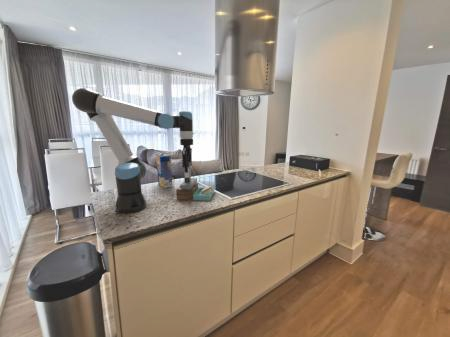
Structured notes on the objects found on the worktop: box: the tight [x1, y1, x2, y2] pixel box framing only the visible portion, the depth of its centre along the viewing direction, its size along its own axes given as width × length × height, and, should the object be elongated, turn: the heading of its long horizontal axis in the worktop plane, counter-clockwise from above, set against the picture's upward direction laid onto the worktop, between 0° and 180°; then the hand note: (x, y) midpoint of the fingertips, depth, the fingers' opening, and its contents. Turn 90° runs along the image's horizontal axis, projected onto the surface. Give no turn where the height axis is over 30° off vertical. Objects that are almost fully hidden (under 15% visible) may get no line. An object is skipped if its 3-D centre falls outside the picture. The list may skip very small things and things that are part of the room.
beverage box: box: [155, 153, 173, 189], centre depth 151 cm, size 7×11×22 cm, turn 34°
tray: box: [193, 187, 215, 201], centre depth 130 cm, size 15×10×3 cm, turn 174°
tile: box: [201, 185, 213, 195], centre depth 129 cm, size 6×6×3 cm
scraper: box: [180, 162, 198, 190], centre depth 128 cm, size 16×6×14 cm, turn 173°
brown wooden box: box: [175, 182, 199, 201], centre depth 130 cm, size 14×10×6 cm
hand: (187, 176), depth 128 cm, fingers closed on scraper, 3 cm apart
